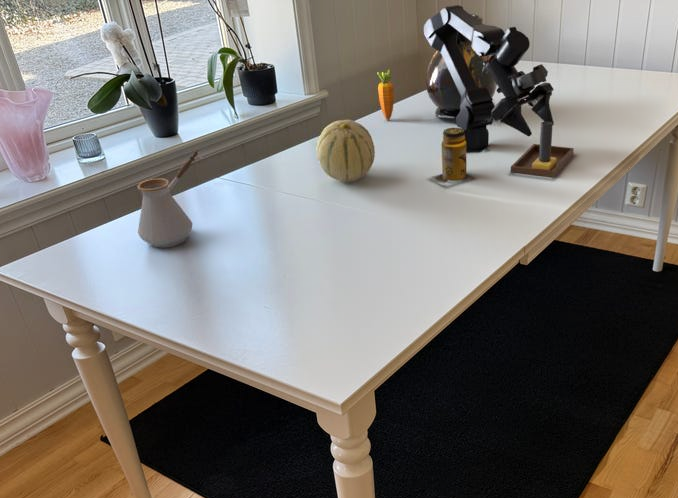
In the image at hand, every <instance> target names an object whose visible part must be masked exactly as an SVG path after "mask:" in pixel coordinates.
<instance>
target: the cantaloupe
mask: <svg viewBox="0 0 678 498" xmlns="http://www.w3.org/2000/svg"><path fill="white" fill-rule="evenodd" d="M375 156H376V150H375V144H374V141H373V138H372V135H371V134H370V132H369V130H368V129H367V128H366V127H365V126H363V125H362V124H361V123H359V122H357V121H355V120H352V119H340V120H336V121H333V122H331V123H330V124H328V125H327V126H325V128H324V129H323V130H322V131H321V133H320V135H319V137H318V139H317V142H316V157H317V161H318V163H319V165H320V168H321V169H322V170H323V172H324V173H325V174H326V175H327V176H329V177H330V178H332V179H334V180H336V181H339V182H344V183H345V182H353V181H357V180H358V179H361V178H364V177H365V176H366V175H367V174H368V173H369V171H370V169H371V168H372V166H373V164H374V161H375Z"/></svg>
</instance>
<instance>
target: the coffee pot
mask: <svg viewBox="0 0 678 498" xmlns="http://www.w3.org/2000/svg"><path fill="white" fill-rule="evenodd" d="M198 154H199V155H200V157H199V155H198ZM201 156H202V157H201ZM195 158H197V159H200V160H201V159H203V158H204V155H203V154H202V153H201V152H199V151H198V150H195V151H194V152H193V153H192V155H189V156H188V160H187V161H186V162H184V163H183V165H182V166H181V168H180V169H179V171H178V172H177V174H176V175H175V177H174V179H173V180H172V181H171V182H170V181H169V180H168V179H167V178H151V179H147V180H144V181H141V182H140V183H139V184H137V187H136V188H137V190H138V191H140V192H141V194H142V202H141V208H140V215H139V222H138V227H137V229H138V230H137V234H138V236H139V238H140V239H141V240H142V241H144V243H146V244H148V245H151V246H152V247H154V248H161V249H162V248H171V247H176V246H177V245H180V244H182V243H184V242H185V241H186V240H187V238H188V237H189V236H190V234H191V232H192V230H193V222H192V220H191V219H190V217H189V216H188V215H187V214H186V212H185V211H184V210H183V208H182V207H181V206H180V204H179V203H178V202H177V201H176V199H175V198H174V197H173V195H172V194H171V193H170V192H171V191H172V189H173V188H174V187H175V185H176V184H177V183H178V182H179V180H180V179H181V178H182V177H183V175H184V174H185V173H186V172H188V171H187V170H188V169H189V168H190V167H191V164H193V163H192V162H194V161H195Z"/></svg>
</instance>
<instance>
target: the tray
mask: <svg viewBox="0 0 678 498" xmlns="http://www.w3.org/2000/svg"><path fill="white" fill-rule="evenodd" d="M539 150H540V143H539V144H538V143H537V144H536V143H533V144H532V145H531V146H530V147H529V148H528V149H527V150H526V151H524V153H523V154H522V155H521V156H520V157H518V159H517V160H516V161H515V162H514V163H513V164H512V165H510V173H512V174H518V175H525V176H535V177H542V178H550V179H554V177H555V176H556V175H557V174H558V173H559V172H560V170H561V169H562V168H563V167H564V166H565V165H566V164H567V162H568V161H569V160H570V159H571V158H572V157H573V155H574V152H575V148H574V147H565V146H558V145H551V157H556V158H557V159H556V166H555V167H554V168H553V170H552V171H551V170H543V169H535V168H532V163H533V162H534V161H535V160H536V159H537V158H538V157H539Z"/></svg>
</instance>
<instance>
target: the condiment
mask: <svg viewBox="0 0 678 498" xmlns="http://www.w3.org/2000/svg"><path fill="white" fill-rule="evenodd" d="M441 168H442V169H441V171H442V172H441V174H438V175H435V176H431V177H429V179H430V180H431V181H432V182H433V181H434V183H437V184H438V185H441V186H444V185H445V184H446V183H447V182H448V181H461V180H464V179H465V178H466V177H467V152H466V141H465V131H464V130H463V129H462V128H460V127H449V128H448V127H447V128H445V129H443V132H442V142H441Z"/></svg>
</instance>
